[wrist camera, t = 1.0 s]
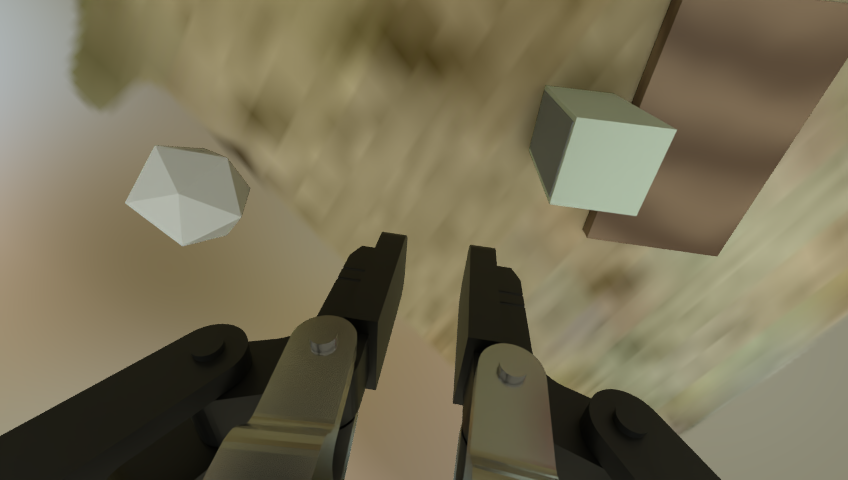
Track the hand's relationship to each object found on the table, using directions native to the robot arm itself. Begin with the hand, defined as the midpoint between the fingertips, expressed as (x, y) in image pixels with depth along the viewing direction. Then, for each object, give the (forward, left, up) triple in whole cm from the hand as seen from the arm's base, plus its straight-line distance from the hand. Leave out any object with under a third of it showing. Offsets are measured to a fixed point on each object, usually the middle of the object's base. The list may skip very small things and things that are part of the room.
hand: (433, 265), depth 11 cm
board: (0, +18, -21) cm, 28 cm away
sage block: (0, +8, -21) cm, 23 cm away
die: (+9, -22, -21) cm, 32 cm away
